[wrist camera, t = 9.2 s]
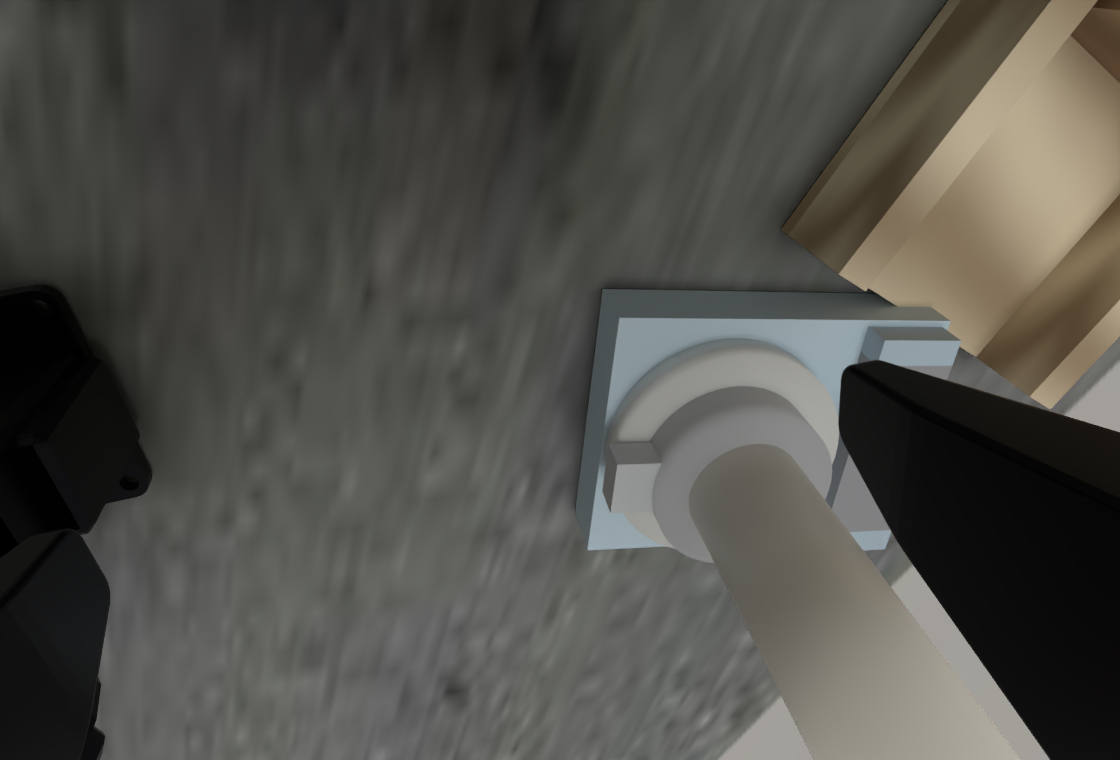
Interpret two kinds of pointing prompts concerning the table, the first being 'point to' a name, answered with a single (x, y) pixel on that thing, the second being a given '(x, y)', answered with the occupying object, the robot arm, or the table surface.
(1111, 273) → the bay
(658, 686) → the table surface
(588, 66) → the table surface
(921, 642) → the crank handle
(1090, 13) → the box
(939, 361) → the grey socket base
